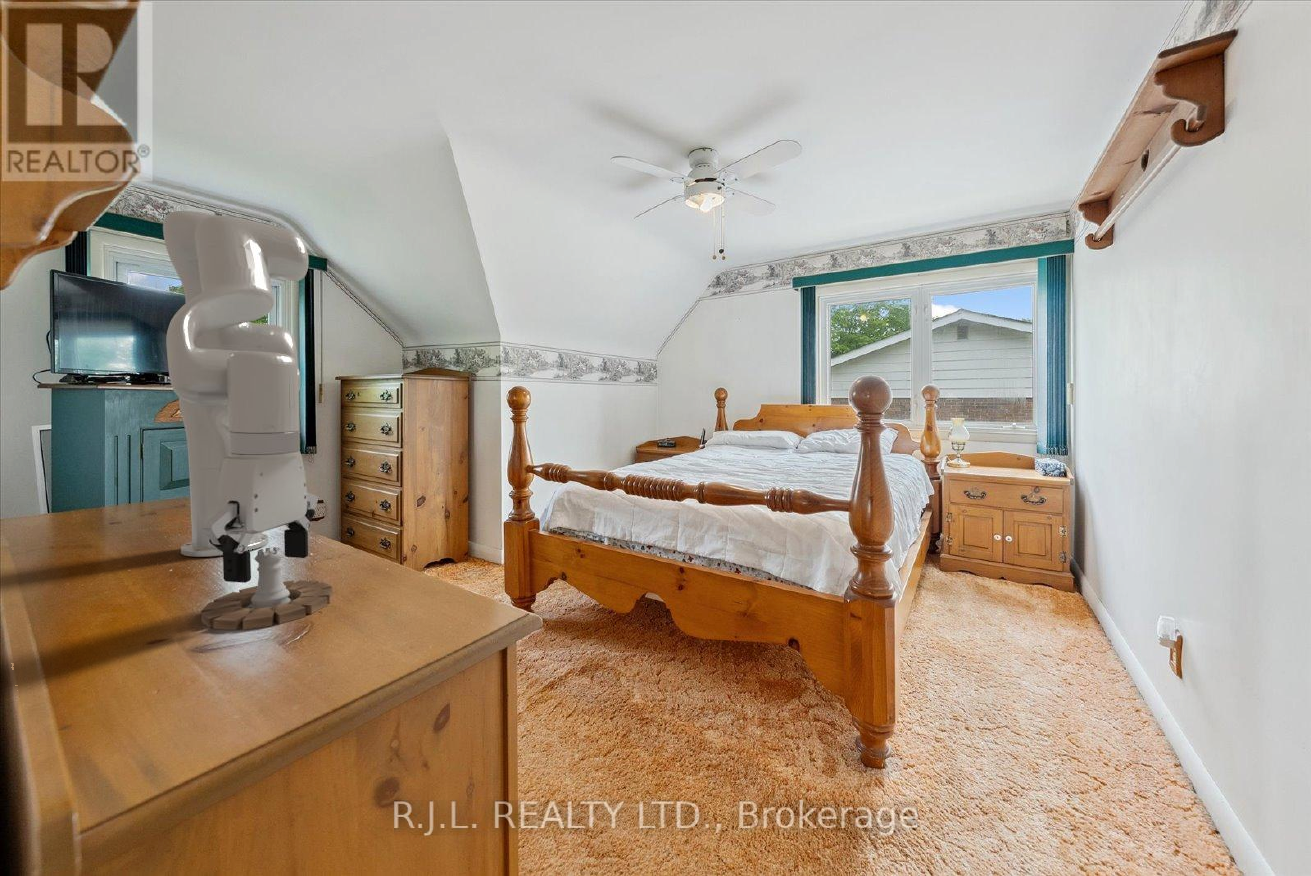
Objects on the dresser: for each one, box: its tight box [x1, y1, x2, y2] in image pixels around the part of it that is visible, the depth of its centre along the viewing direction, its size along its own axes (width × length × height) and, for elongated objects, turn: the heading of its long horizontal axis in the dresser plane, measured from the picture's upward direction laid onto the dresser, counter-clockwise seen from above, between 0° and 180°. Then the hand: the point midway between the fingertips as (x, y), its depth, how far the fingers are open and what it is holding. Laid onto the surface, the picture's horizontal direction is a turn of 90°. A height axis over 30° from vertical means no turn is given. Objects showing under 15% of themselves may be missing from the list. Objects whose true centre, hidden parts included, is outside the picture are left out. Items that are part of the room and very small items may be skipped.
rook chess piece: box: [249, 546, 292, 609], centre depth 70 cm, size 4×4×8 cm
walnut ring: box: [200, 579, 334, 631], centre depth 70 cm, size 14×14×1 cm
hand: (269, 568), depth 70 cm, fingers open, 9 cm apart
